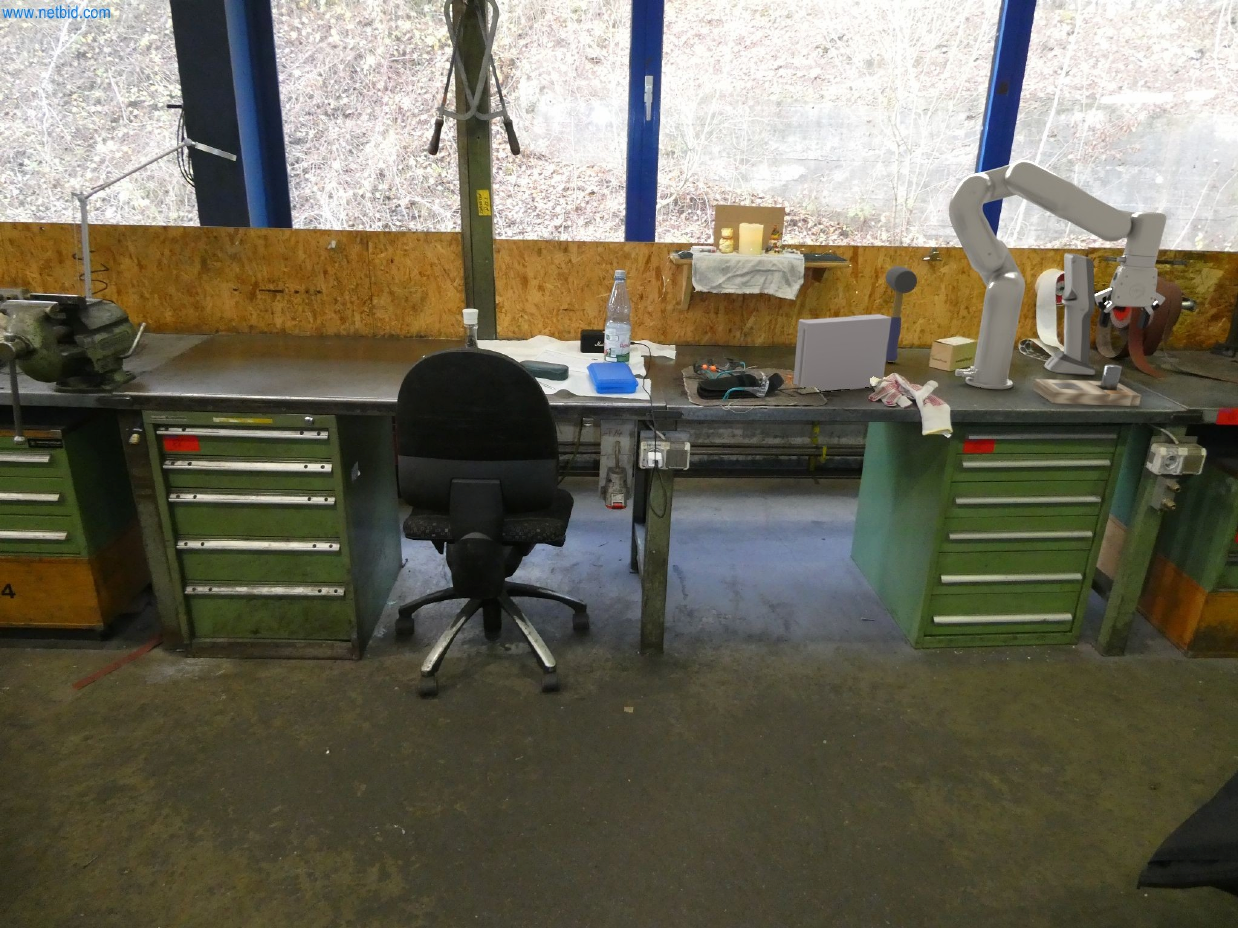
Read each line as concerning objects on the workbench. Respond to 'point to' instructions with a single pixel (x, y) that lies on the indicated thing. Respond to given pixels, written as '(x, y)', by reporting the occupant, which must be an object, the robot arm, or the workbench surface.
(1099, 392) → the fixture board
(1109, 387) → the peg
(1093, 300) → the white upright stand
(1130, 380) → the workbench surface
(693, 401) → the workbench surface
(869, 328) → the game console
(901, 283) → the rubber mallet
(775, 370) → the workbench surface
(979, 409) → the workbench surface
